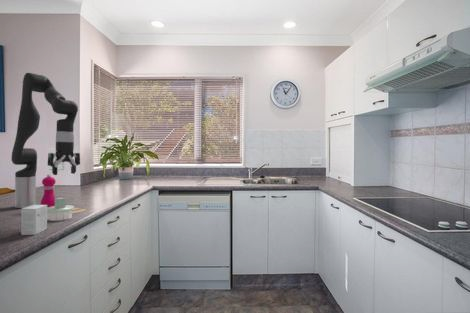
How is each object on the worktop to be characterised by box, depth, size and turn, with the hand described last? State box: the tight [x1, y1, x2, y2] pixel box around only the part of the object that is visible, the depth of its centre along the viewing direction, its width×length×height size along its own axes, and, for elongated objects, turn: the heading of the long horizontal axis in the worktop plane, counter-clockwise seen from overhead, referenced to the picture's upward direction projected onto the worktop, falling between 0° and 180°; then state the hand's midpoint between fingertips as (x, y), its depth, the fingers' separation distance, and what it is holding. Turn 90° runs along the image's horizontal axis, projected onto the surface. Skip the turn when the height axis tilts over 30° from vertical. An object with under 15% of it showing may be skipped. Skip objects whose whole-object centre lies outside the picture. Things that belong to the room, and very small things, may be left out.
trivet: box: [72, 206, 87, 214], centre depth 146 cm, size 12×12×1 cm
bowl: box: [47, 210, 73, 222], centre depth 131 cm, size 10×10×5 cm
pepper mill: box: [40, 173, 56, 208], centre depth 147 cm, size 7×7×20 cm
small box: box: [20, 204, 48, 236], centre depth 113 cm, size 8×6×10 cm
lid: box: [47, 197, 75, 212], centre depth 131 cm, size 12×12×5 cm
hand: (64, 174), depth 135 cm, fingers open, 8 cm apart
